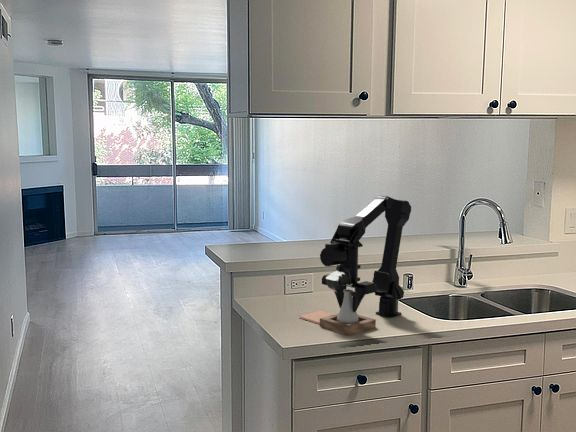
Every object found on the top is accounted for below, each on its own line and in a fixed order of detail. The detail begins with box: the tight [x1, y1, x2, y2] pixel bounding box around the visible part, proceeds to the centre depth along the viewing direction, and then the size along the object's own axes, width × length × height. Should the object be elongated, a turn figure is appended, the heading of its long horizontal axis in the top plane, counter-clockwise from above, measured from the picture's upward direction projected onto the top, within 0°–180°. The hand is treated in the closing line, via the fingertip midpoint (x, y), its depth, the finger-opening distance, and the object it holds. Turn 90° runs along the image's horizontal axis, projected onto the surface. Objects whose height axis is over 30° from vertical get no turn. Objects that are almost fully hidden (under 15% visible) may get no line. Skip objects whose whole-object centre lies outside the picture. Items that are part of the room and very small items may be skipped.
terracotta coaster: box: [299, 310, 334, 325], centre depth 205 cm, size 10×10×1 cm
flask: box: [337, 288, 359, 324], centre depth 195 cm, size 7×7×10 cm
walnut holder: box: [319, 312, 377, 336], centre depth 196 cm, size 13×13×2 cm
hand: (347, 309), depth 195 cm, fingers closed on flask, 5 cm apart
